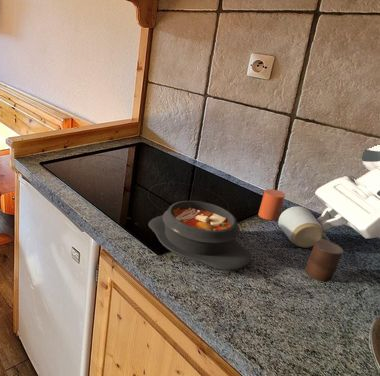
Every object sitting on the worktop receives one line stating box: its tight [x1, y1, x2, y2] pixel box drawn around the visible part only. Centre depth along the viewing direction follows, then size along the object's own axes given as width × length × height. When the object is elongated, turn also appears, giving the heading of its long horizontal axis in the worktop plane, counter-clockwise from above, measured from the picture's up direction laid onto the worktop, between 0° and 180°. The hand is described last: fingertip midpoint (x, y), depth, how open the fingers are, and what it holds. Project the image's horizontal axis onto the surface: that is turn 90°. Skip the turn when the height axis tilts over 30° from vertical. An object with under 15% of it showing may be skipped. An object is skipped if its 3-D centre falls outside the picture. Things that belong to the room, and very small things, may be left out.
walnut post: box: [304, 241, 344, 283], centre depth 86 cm, size 5×5×7 cm
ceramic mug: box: [277, 205, 331, 249], centre depth 97 cm, size 11×8×8 cm
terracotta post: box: [257, 188, 286, 221], centre depth 109 cm, size 5×5×7 cm
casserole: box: [147, 200, 253, 271], centre depth 95 cm, size 25×19×8 cm
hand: (319, 225), depth 98 cm, fingers closed
